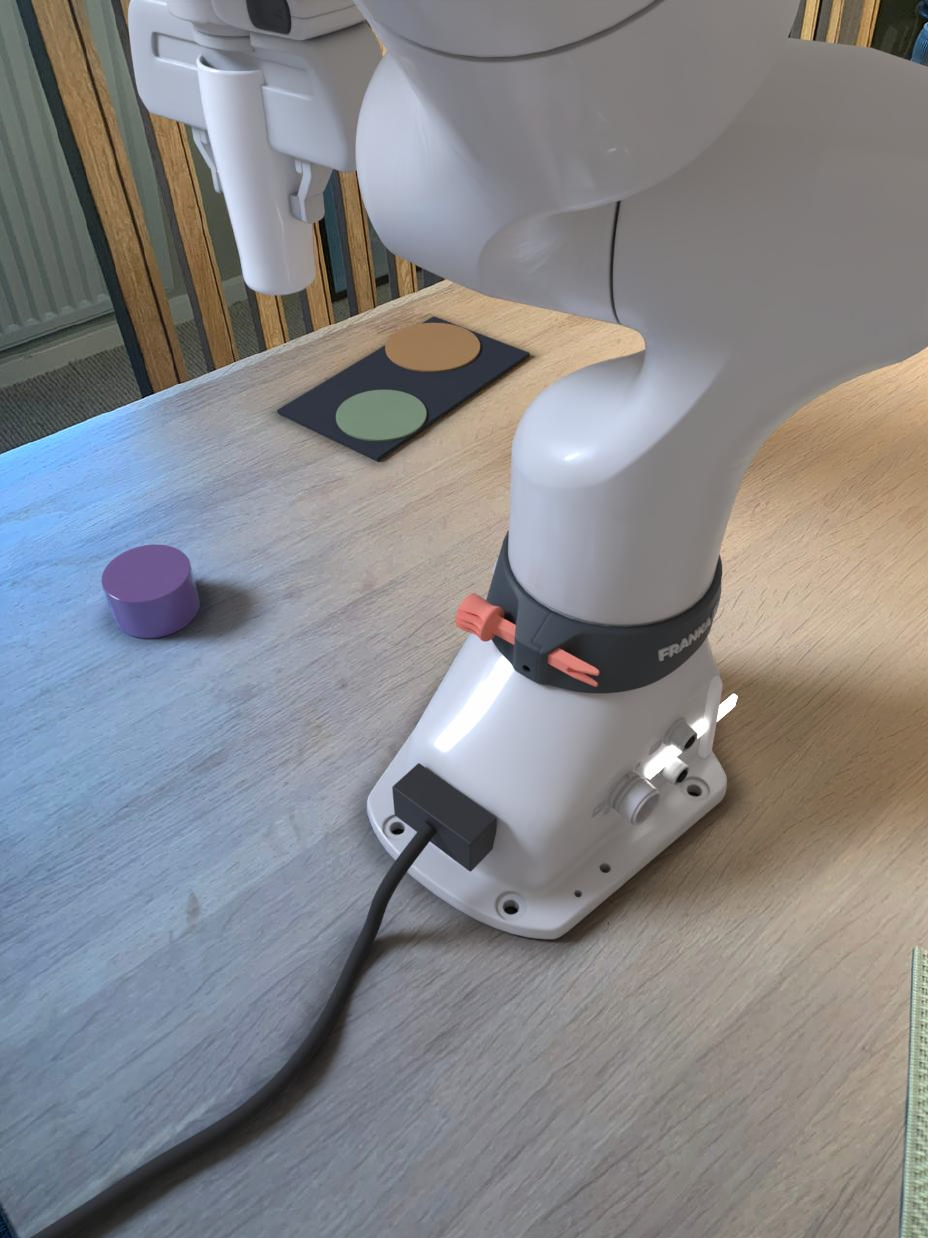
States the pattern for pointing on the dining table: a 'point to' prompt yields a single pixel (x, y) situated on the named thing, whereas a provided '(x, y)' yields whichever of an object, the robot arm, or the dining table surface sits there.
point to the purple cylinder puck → (151, 591)
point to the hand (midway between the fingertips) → (269, 205)
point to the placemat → (403, 386)
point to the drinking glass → (256, 184)
